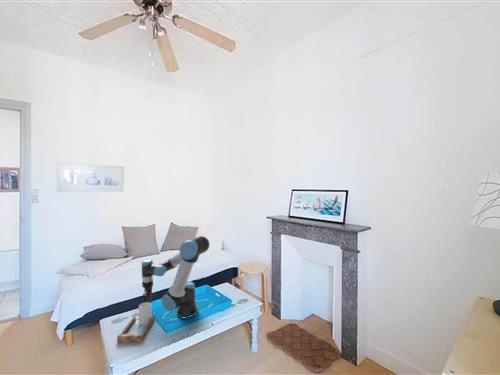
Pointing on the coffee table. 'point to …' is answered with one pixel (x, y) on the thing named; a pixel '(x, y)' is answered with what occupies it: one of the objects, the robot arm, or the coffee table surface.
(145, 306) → the mug
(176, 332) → the coffee table surface
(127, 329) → the guide
